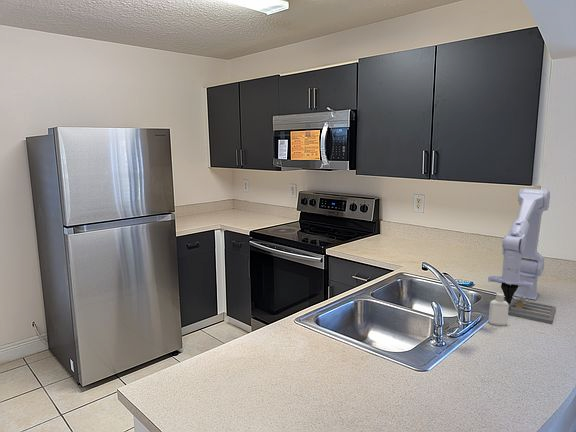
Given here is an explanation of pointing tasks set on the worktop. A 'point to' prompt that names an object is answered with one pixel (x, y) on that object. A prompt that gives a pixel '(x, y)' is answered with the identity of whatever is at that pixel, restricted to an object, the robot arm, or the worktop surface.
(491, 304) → the eye dropper bottle
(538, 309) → the switch board
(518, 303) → the oak tab
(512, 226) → the robot arm
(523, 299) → the grooved grey cube
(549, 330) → the worktop surface
